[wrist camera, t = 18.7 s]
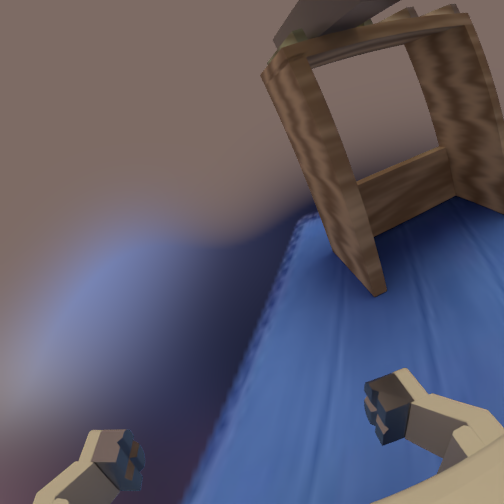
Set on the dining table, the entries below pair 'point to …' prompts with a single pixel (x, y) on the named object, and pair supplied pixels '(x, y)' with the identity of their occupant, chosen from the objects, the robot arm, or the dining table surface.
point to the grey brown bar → (329, 16)
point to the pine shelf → (407, 172)
